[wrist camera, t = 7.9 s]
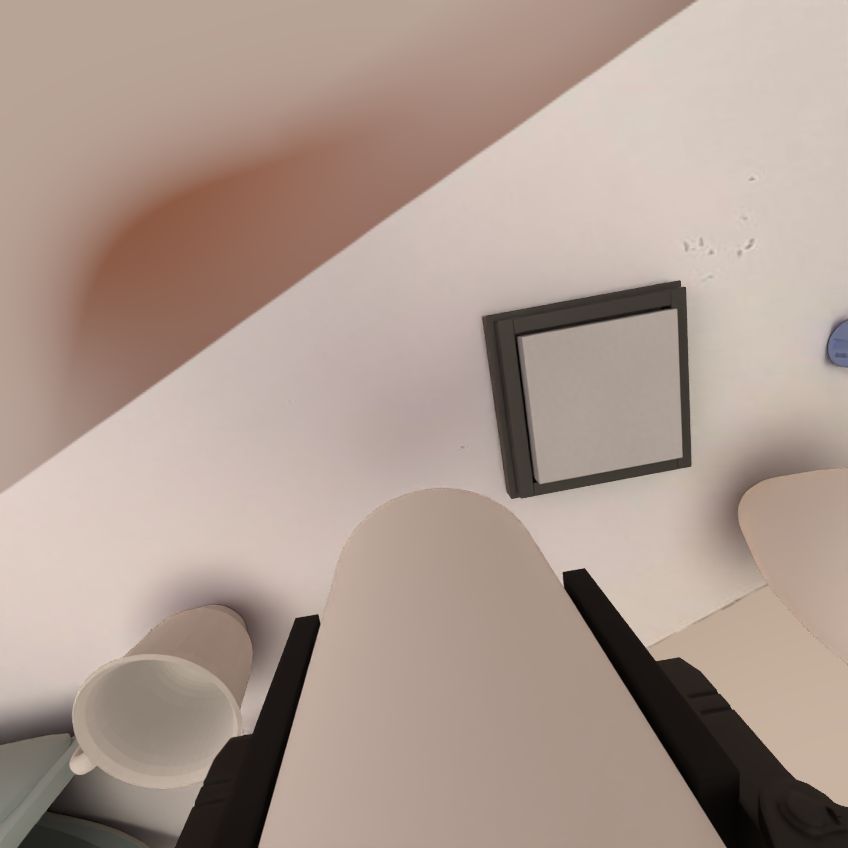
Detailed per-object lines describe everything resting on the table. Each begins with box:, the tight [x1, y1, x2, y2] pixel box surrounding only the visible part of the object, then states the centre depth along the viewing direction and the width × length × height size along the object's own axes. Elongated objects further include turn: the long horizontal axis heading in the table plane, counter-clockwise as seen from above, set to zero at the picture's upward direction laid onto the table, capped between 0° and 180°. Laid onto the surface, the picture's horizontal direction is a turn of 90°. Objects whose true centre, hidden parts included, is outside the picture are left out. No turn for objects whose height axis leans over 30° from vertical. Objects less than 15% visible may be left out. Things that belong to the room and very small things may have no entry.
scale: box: [482, 280, 691, 499], centre depth 35 cm, size 16×16×3 cm
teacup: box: [69, 605, 253, 789], centre depth 35 cm, size 12×15×10 cm
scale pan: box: [517, 309, 683, 484], centre depth 33 cm, size 12×12×2 cm
